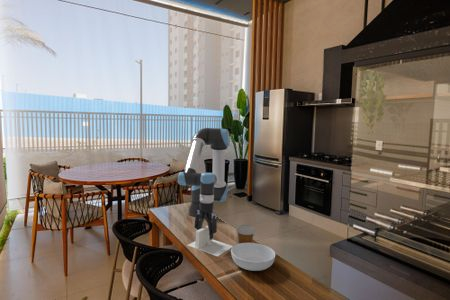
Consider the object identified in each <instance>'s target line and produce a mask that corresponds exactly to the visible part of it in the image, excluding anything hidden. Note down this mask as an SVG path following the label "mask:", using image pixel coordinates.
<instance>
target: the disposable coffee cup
mask: <svg viewBox="0 0 450 300" xmlns="http://www.w3.org/2000/svg"><path fill="white" fill-rule="evenodd" d="M255 231H256V230H255V228H254V226H252V225H249V224H241V225H238V226H237V228H236V232H237V242H238V243H237V244H240V243H253V239H254V233H255Z"/></svg>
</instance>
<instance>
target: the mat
mask: <svg viewBox="0 0 450 300" xmlns="http://www.w3.org/2000/svg"><path fill="white" fill-rule="evenodd" d="M187 246H188V247H190V248H194V249H196V250H199V251H202V252H205V253H207V254H209V255H212V256H215V257H217V258H219V257H221V256H222V255H224V254H225V253H226V254H227V252H229V251H231V249H232V247H233V246H234V245H231V244H228V243H225V242H222V241H219V240H215V239H214V238H213V239H212V244H211V245H210V246H208V244H206V245H204V246H202V247H201V248H199V249H198V248H195V240H194V241H193V242H190V243H189V244H187Z"/></svg>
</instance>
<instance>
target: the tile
mask: <svg viewBox="0 0 450 300" xmlns="http://www.w3.org/2000/svg"><path fill="white" fill-rule="evenodd" d="M208 234H209V229H208V225H206V226H204V227H202V228H201V229H199V230H197V229H196V230H195V240H194V241H195V248H194V249H196V248H198V249H199V248H201V247H202V246H204V245H206V244H208ZM198 249H197V250H198Z"/></svg>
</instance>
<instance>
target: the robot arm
mask: <svg viewBox="0 0 450 300" xmlns="http://www.w3.org/2000/svg"><path fill="white" fill-rule="evenodd" d="M190 144H191V146H190V150H189V153H188V156H187V159H186V163H185V166H184V169H183V171H180V172H179V173H178V175H177V183H178V185H180V186H185V187H187V186H188V187H189V186H191V190H190V191H191V192H190V193H191V194H190V195H191V196H190V205H189V206H188V207H189V208H188V212H187V213H188V215H189V216H191V217H195V218H194V229H196V231H197V230H199V229H201V228H203V227H202V226H203V224H204V222H205V220H206V223H207V226H208V229H209V234H208V246H210V245H211V244H212V239H213V240H214V234H216V233H217V231H218V229H217V227H218V226H217V224H218V223H217V220H218V214H215V213H214V211H213V210H214V202H225V201H227V196H228V190H229V185H227V183H226V181H225V171H226V170H225V165H226V162H225V161H226V151H227V149H228V147H230V144H231V143H230V132H229V130H228V129H227V128H216V127H215V128H213V127H204V128H201V129H199V130H198V131H196V132H195V134H194V135H193V136H192V138H191V140H190ZM205 146H210V150H212V172H202V173H201V172H199V173H198V170H199V165H200V161H201V158H202V153H203V149H204V148H205Z"/></svg>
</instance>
